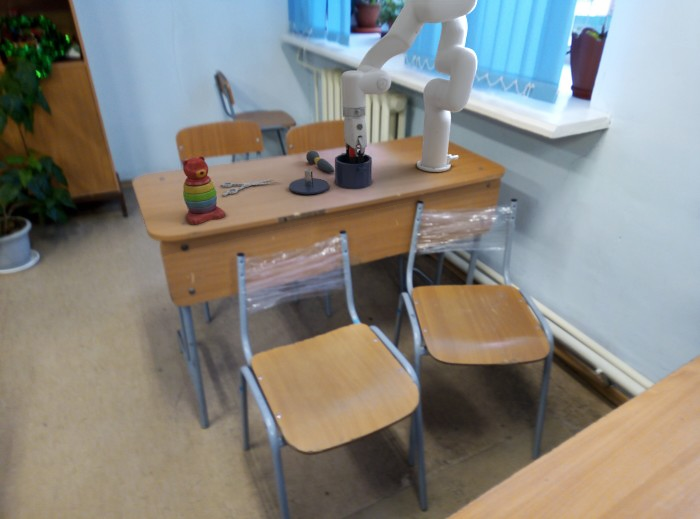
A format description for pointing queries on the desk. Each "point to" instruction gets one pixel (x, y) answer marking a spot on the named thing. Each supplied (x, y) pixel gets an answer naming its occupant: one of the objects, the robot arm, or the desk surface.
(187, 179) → the stacking bear
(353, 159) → the marker
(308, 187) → the lid
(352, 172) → the pot
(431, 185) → the desk surface
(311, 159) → the grey microphone
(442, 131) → the robot arm
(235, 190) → the scissors
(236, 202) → the desk surface
